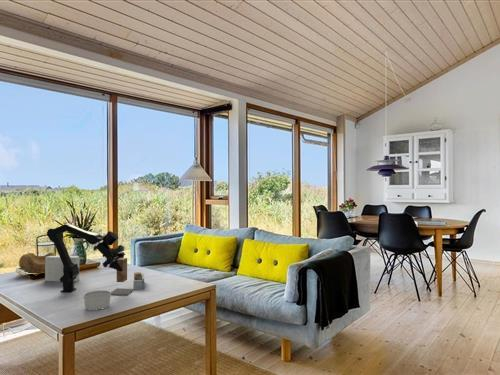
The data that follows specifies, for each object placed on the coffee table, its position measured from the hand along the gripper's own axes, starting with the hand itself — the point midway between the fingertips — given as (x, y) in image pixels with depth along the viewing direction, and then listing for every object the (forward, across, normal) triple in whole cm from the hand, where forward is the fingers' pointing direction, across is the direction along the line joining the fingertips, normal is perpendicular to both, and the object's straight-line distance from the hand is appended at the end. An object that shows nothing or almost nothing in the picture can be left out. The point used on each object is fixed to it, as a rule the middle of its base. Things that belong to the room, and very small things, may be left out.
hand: (124, 269), depth 213 cm
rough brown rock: (-44, +34, +64) cm, 85 cm away
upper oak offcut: (+9, +14, +5) cm, 17 cm away
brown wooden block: (+4, 0, +6) cm, 7 cm away
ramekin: (+7, -25, +12) cm, 29 cm away
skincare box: (-26, +21, +46) cm, 57 cm away
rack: (+12, +14, +7) cm, 20 cm away
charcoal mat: (+9, 0, +10) cm, 13 cm away
